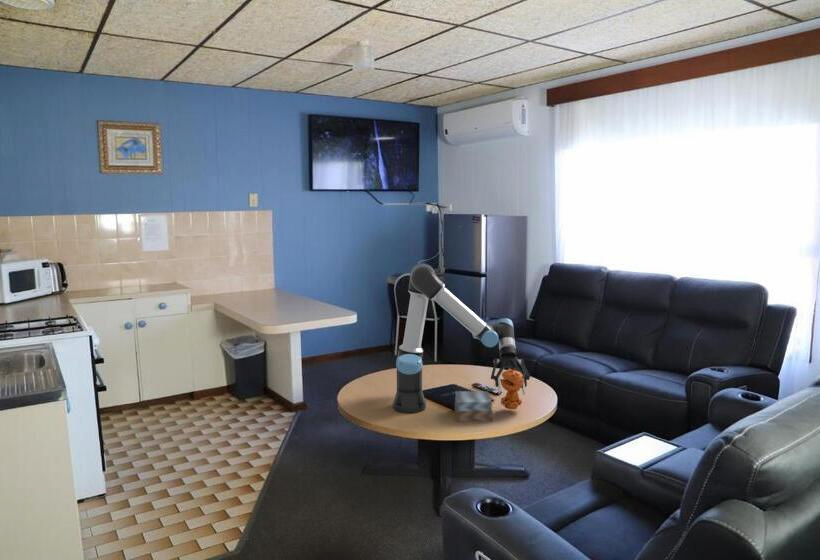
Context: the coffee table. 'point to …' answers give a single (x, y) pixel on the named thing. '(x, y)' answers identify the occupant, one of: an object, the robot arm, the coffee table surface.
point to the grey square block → (473, 406)
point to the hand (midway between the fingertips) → (511, 393)
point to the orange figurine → (511, 388)
